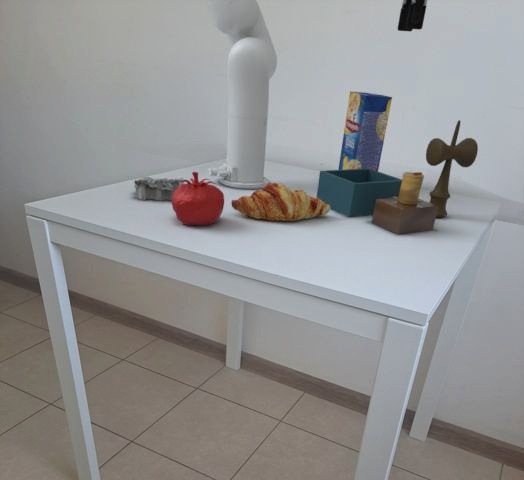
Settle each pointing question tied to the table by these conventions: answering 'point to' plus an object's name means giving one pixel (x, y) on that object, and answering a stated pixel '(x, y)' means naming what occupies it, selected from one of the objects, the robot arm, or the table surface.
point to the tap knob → (410, 188)
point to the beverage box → (364, 131)
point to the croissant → (280, 204)
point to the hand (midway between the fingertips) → (409, 30)
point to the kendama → (448, 164)
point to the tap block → (404, 215)
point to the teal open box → (356, 190)
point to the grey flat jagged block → (156, 188)
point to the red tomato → (197, 202)
